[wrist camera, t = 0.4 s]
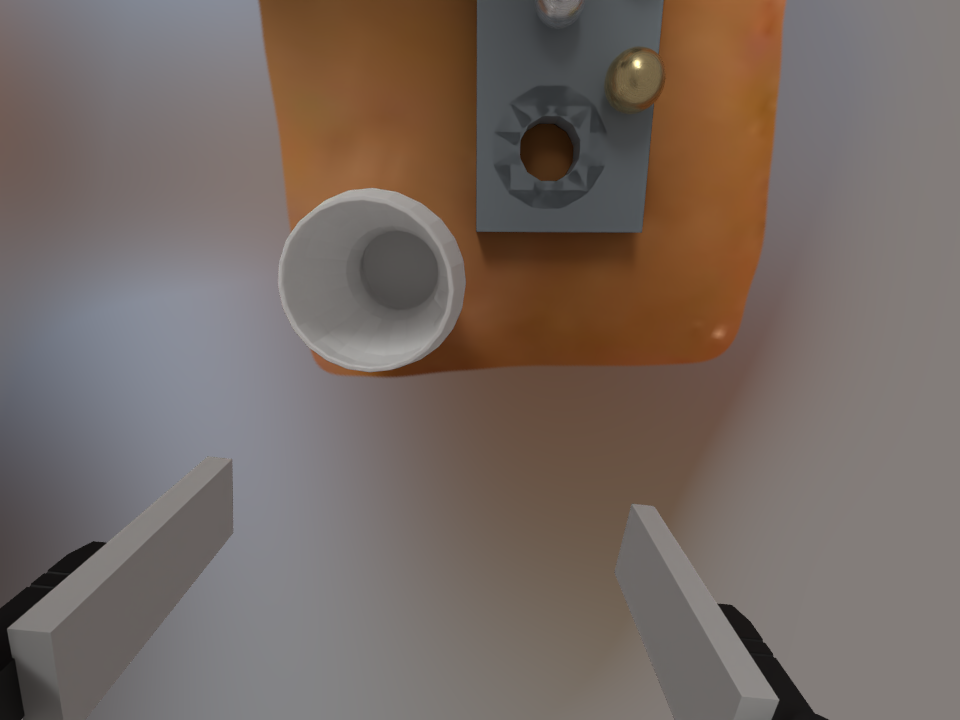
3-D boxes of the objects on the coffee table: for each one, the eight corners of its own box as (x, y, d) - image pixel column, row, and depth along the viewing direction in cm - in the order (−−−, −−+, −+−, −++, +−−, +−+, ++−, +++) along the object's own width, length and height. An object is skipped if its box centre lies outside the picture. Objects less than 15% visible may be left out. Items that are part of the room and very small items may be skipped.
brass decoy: (599, 58, 33) (616, 35, 29) (655, 59, 33) (678, 36, 29) (595, 119, 34) (611, 105, 30) (649, 120, 34) (671, 106, 31)
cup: (491, 246, 39) (502, 255, 25) (428, 351, 41) (404, 414, 27) (380, 176, 38) (321, 140, 23) (321, 288, 40) (234, 320, 25)
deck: (477, -90, 33) (477, -116, 31) (659, -88, 33) (674, -113, 31) (476, 231, 39) (476, 231, 36) (631, 232, 39) (641, 232, 37)
